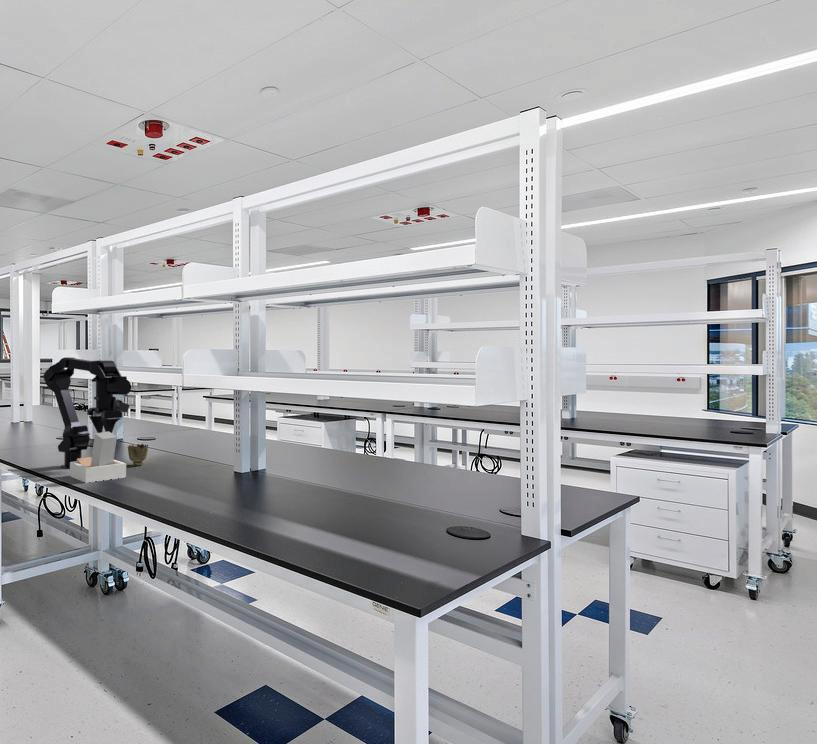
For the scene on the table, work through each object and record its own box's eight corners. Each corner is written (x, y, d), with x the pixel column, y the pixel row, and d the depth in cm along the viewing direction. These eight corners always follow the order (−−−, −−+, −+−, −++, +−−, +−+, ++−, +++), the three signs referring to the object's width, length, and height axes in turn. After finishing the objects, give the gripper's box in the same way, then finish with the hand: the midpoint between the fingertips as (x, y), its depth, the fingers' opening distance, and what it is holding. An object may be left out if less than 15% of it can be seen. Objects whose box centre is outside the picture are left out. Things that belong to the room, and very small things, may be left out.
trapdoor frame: (69, 476, 204) (69, 462, 204) (109, 471, 214) (109, 457, 214) (85, 483, 194) (85, 468, 194) (126, 477, 204) (126, 463, 203)
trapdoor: (75, 468, 204) (76, 458, 204) (105, 465, 212) (106, 455, 211) (87, 484, 197) (88, 473, 196) (117, 479, 204) (119, 469, 204)
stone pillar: (90, 466, 201) (94, 433, 198) (104, 463, 205) (108, 431, 202) (98, 472, 198) (102, 439, 196) (112, 469, 203) (116, 436, 200)
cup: (130, 467, 221) (130, 447, 220) (125, 464, 226) (125, 444, 226) (150, 465, 225) (150, 445, 225) (145, 462, 231) (145, 443, 231)
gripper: (136, 394, 213) (136, 436, 214) (117, 392, 226) (117, 431, 227) (104, 395, 205) (105, 439, 206) (86, 393, 218) (86, 434, 218)
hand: (104, 435), depth 214 cm, fingers open, 9 cm apart
